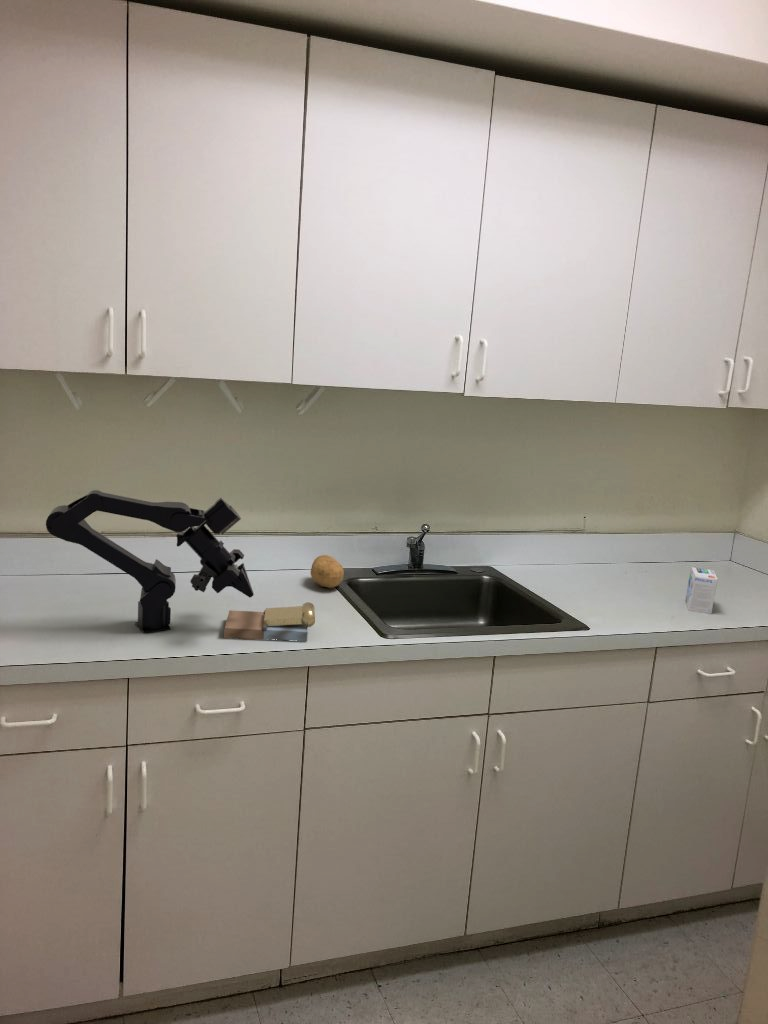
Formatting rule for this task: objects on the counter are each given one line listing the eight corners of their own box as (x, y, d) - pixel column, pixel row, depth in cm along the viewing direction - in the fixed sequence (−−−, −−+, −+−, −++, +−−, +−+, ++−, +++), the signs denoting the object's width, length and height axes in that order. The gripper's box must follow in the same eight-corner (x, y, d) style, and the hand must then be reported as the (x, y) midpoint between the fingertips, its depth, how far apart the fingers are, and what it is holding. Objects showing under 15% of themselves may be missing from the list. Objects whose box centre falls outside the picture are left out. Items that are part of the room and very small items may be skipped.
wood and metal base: (224, 638, 186) (224, 625, 186) (228, 620, 198) (229, 607, 197) (306, 641, 189) (307, 628, 188) (306, 623, 200) (307, 611, 199)
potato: (313, 594, 223) (315, 566, 221) (305, 578, 236) (307, 552, 234) (348, 594, 225) (350, 566, 224) (338, 578, 239) (340, 552, 237)
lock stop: (263, 616, 188) (314, 613, 189) (265, 604, 196) (314, 602, 197) (264, 629, 189) (315, 626, 190) (266, 617, 197) (314, 614, 198)
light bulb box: (684, 600, 247) (690, 566, 245) (707, 603, 245) (713, 569, 243) (688, 610, 237) (694, 575, 235) (712, 614, 235) (718, 579, 233)
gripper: (187, 558, 197) (229, 604, 201) (174, 581, 179) (222, 631, 183) (221, 529, 197) (264, 576, 200) (213, 549, 178) (259, 600, 182)
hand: (252, 596), depth 191 cm, fingers closed
